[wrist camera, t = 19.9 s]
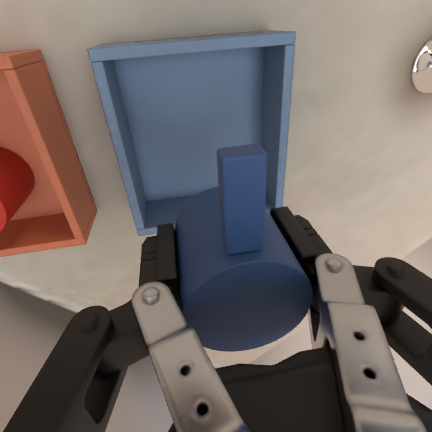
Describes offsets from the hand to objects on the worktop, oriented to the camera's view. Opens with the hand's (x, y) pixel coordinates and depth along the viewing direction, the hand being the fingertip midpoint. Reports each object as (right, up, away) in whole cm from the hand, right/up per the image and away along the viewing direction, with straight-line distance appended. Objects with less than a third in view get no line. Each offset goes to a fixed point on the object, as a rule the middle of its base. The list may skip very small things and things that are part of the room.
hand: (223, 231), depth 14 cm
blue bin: (-2, +8, +9) cm, 12 cm away
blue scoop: (0, +1, -1) cm, 2 cm away
